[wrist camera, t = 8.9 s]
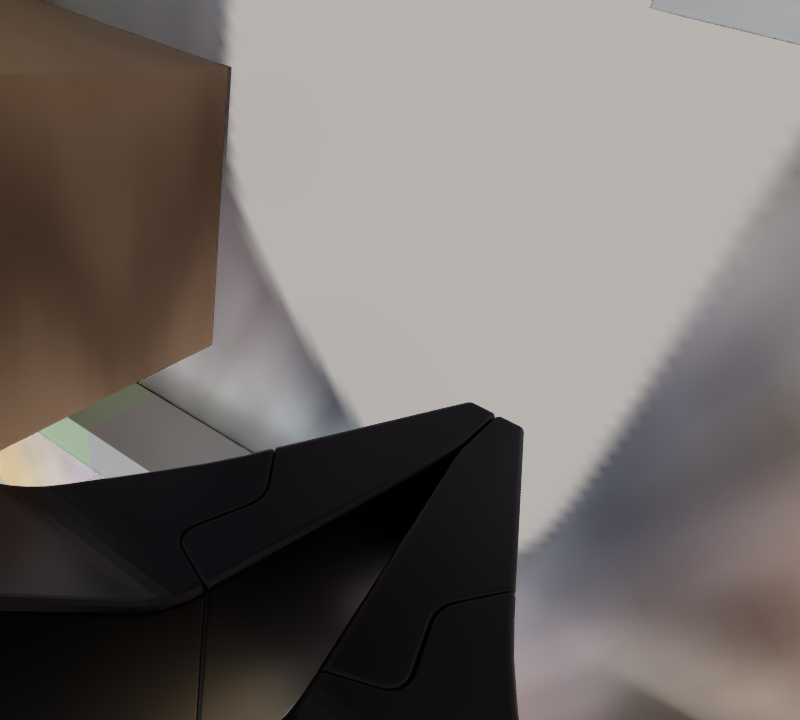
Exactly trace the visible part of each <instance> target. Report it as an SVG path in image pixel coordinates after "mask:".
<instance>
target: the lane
mask: <svg viewBox="0 0 800 720" xmlns="http://www.w3.org/2000/svg"><path fill="white" fill-rule="evenodd" d="M650 8H652V9H656V10H660V11H664V12H668V13H672V14H676V15H680V16H683V17H687V18H692V19H696V20H700V21H704V22H708V23H713V24H716V25H720V26H725V27H729V28H733V29H737V30H741V31H745V32H749V33H753V34H757V35H761V36H765V37H770V38H774V39H778V40H782V41H786V42H790V43H794V44H799V45H800V0H653V1H652V3H651V6H650ZM88 440H89V454H90V468H91V469H92V470H94V471H95V472H97V473H98V474H99V475H101V476H102V477H104V478H105V479H106V478H113V477H120V476H127V475H134V474H141V473H147V472H154V471H161V470H168V469H174V468H180V467H186V466H192V465H198V464H204V463H210V462H215V461H219V460H224V459H229V458H233V457H238V456H243V455H248V454H252V453H251V452H249V451H248V450H246V449H244V448H243V447H241V446H239V445H238V444H236V443H234V442H233V441H231V440H229V439H228V438H226V437H224V436H223V435H221V434H220V433H218V432H216V431H215V430H213V429H211V428H210V427H208V426H206V425H205V424H203V423H201V422H200V421H198V420H196V419H195V418H193V417H191V416H190V415H188V414H187V413H185V412H183V411H182V410H180V409H178V408H177V407H175V406H173V405H172V404H170V403H168V402H167V401H165V400H163V399H162V398H160V397H159V396H157V395H154V396H152V397H150V398H148V399H146V400H144V401H143V402H141V403H139V404H137V405H135V406H133V407H131V408H129V409H128V410H126V411H124V412H122V413H120V414H118V415H116V416H114V417H113V418H111V419H109V420H107V421H105V422H103V423H101V424H99V425H97V426H96V427H94V428H92V429H90V430H88Z"/></svg>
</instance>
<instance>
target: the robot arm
mask: <svg viewBox="0 0 800 720" xmlns="http://www.w3.org/2000/svg"><path fill="white" fill-rule="evenodd" d="M523 435H524V432H523V429H522V428H521V427H520V426H518V425H516V424H514V423H512V422H510V421H508V420H505V419H503V418H502V417H496V418H495V416H494V414H493V413H491V412H489V411H488V410H486V409H484V408H482V407H480V406H478V405H475V404H474V403H464V404H460V405H456V406H451V407H447V408H442V409H438V410H434V411H430V412H426V413H421V414H417V415H413V416H409V417H404V418H400V419H396V420H392V421H388V422H383V423H379V424H375V425H371V426H367V427H362V428H358V429H354V430H350V431H345V432H341V433H337V434H333V435H329V436H324V437H320V438H316V439H312V440H307V441H303V442H299V443H295V444H291V445H286V446H282V447H278V448H276V449H275V452H274V451H273V450H272V449H269V450H264V451H260V452H256V453H252V454H248V455H243V456H238V457H233V458H229V459H224V460H219V461H215V462H210V463H204V464H198V465H192V466H186V467H180V468H174V469H168V470H161V471H154V472H147V473H141V474H134V475H127V476H120V477H113V478H106V479H99V480H92V481H85V482H79V483H72V484H65V485H55V486H46V487H22V486H10V485H3V484H0V720H519V717H518V708H517V695H516V681H515V666H514V617H515V596H514V595H515V590H516V571H517V552H518V532H519V513H520V493H521V474H522V454H523ZM300 696H301V697H300ZM297 700H298V701H297ZM296 701H297V702H296ZM295 702H296V703H295ZM294 703H295V704H294ZM293 705H294V706H293ZM292 706H293V707H292ZM291 707H292V708H291ZM290 708H291V709H290ZM289 709H290V711H289V712H288V710H289ZM287 712H288V713H287ZM286 713H287V714H286ZM285 714H286V715H285ZM284 715H285V716H284ZM283 716H284V717H283Z"/></svg>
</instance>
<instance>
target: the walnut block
mask: <svg viewBox="0 0 800 720" xmlns="http://www.w3.org/2000/svg"><path fill="white" fill-rule="evenodd" d="M231 69H232V67H230V66H227V67H226V66H223V65H220V64H217V63H215V62H212V61H209V60H206V59H203V58H201V57H198V56H195V55H192V54H189V53H186V52H184V51H181V50H178V49H175V48H172V47H170V46H167V45H164V44H161V43H158V42H156V41H153V40H150V39H147V38H144V37H141V36H139V35H136V34H133V33H130V32H127V31H125V30H122V29H119V28H116V27H113V26H111V25H108V24H105V23H102V22H99V21H96V20H94V19H91V18H88V17H85V16H82V15H80V14H77V13H74V12H71V11H68V10H66V9H63V8H60V7H57V6H54V5H51V4H49V3H46V2H43V1H40V0H0V450H2V449H4V448H6V447H8V446H10V445H12V444H14V443H16V442H18V441H20V440H22V439H24V438H26V437H28V436H30V435H32V434H34V433H36V432H38V431H40V430H42V429H44V428H46V427H48V426H50V425H52V424H54V423H56V422H58V421H60V420H62V419H64V418H66V417H68V416H70V415H72V414H74V413H76V412H78V411H80V410H82V409H84V408H86V407H88V406H90V405H92V404H94V403H96V402H98V401H100V400H102V399H104V398H106V397H108V396H110V395H112V394H114V393H116V392H118V391H120V390H122V389H124V388H126V387H128V386H130V385H132V384H134V383H136V382H138V381H140V380H142V379H144V378H146V377H148V376H150V375H152V374H154V373H156V372H158V371H160V370H162V369H164V368H166V367H168V366H170V365H172V364H174V363H176V362H178V361H180V360H182V359H184V358H186V357H188V356H190V355H192V354H194V353H196V352H198V351H200V350H202V349H204V348H206V347H208V346H210V345H212V338H213V321H214V303H215V286H216V268H217V251H218V234H219V216H220V199H221V181H222V164H223V146H224V129H225V111H226V110H227V117H228V120H229V103H230V86H231ZM226 94H227V104H226ZM227 134H228V127H227Z"/></svg>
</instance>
